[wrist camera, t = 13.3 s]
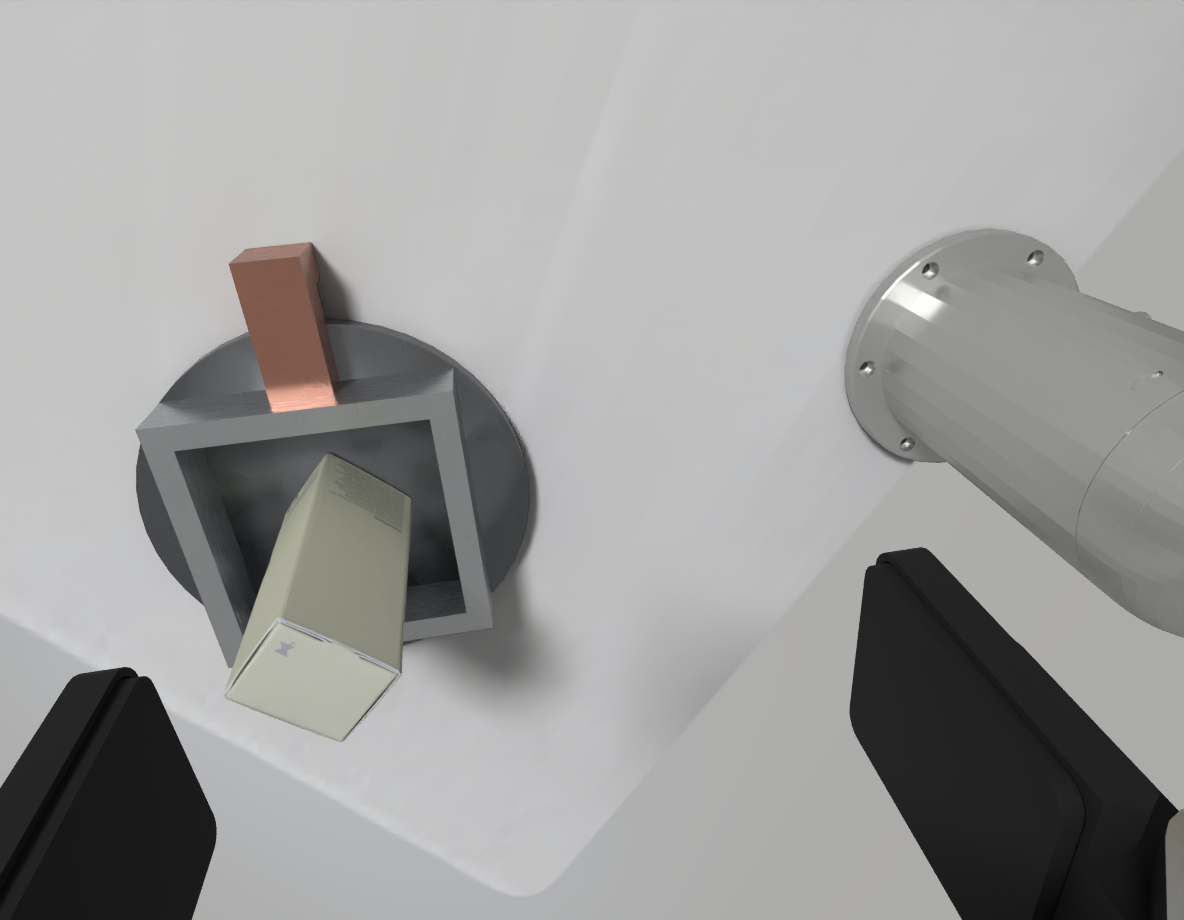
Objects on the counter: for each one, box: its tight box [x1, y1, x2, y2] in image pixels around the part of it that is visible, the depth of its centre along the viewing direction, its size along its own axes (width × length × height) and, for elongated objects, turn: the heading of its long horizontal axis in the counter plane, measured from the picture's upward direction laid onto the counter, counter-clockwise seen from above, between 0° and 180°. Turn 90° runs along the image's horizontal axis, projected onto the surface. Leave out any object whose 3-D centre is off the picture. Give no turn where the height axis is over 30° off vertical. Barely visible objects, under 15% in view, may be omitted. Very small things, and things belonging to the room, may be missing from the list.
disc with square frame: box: [136, 242, 529, 668], centre depth 37 cm, size 19×22×4 cm
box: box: [224, 453, 413, 742], centre depth 33 cm, size 5×4×13 cm
